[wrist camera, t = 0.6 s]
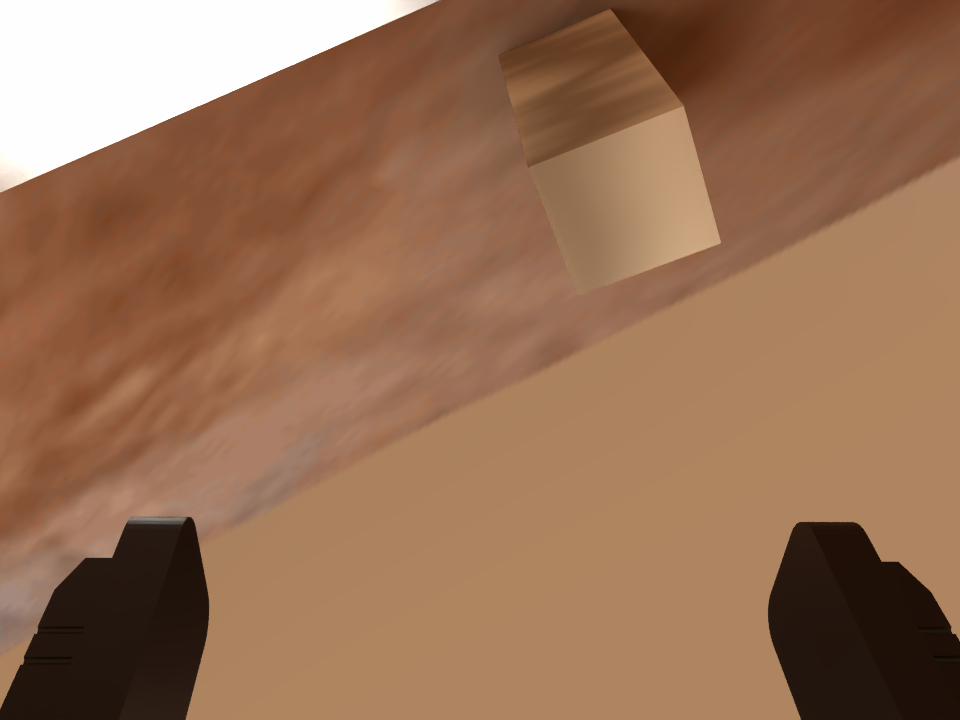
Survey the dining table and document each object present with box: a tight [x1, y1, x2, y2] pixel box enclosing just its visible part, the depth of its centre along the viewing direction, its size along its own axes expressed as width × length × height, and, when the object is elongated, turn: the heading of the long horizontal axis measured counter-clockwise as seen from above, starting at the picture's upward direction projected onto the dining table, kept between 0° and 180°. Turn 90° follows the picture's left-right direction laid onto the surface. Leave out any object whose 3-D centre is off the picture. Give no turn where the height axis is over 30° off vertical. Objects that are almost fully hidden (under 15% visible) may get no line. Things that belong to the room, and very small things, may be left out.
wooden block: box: [499, 9, 721, 296], centre depth 27 cm, size 4×4×10 cm
